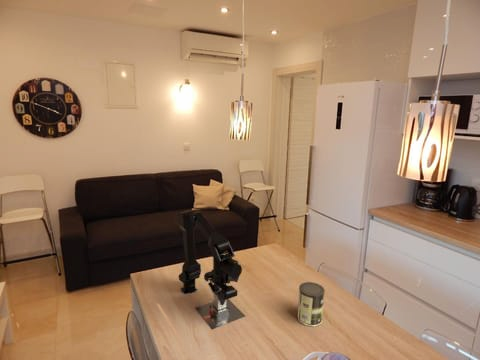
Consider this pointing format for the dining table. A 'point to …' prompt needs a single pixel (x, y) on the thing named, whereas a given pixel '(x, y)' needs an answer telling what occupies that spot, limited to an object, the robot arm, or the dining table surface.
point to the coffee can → (310, 304)
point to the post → (218, 302)
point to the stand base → (219, 314)
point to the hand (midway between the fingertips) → (219, 302)
